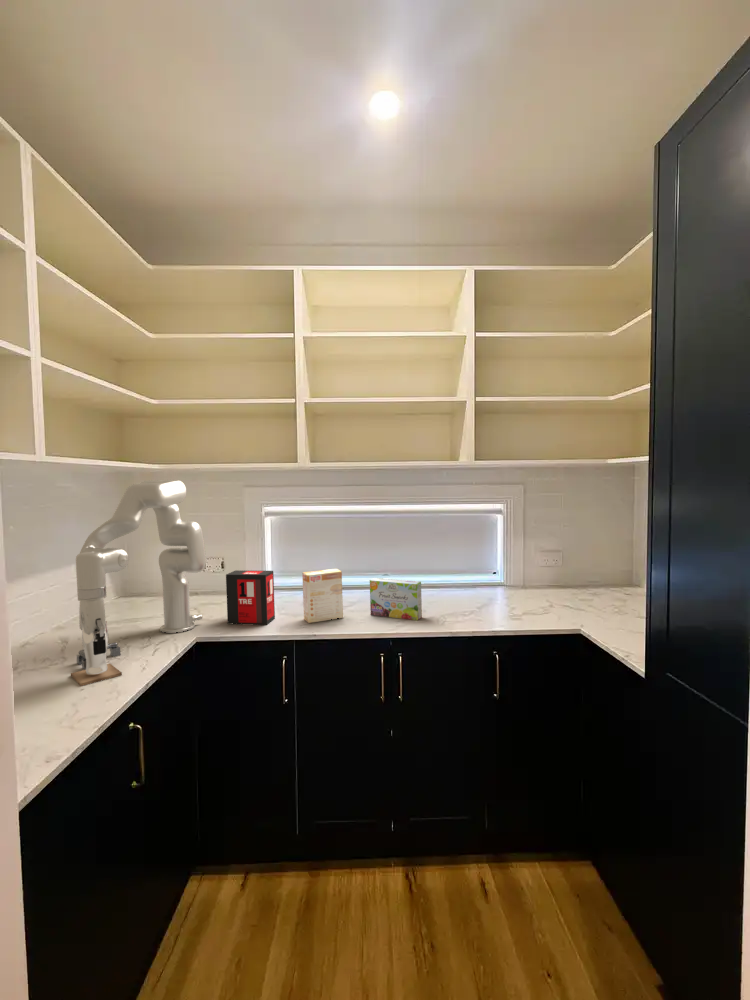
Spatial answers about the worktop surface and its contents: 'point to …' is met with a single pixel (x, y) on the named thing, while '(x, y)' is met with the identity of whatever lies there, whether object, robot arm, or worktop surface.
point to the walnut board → (85, 679)
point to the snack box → (396, 598)
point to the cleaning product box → (250, 597)
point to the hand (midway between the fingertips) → (94, 650)
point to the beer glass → (94, 662)
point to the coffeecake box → (322, 595)
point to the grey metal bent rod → (112, 646)
